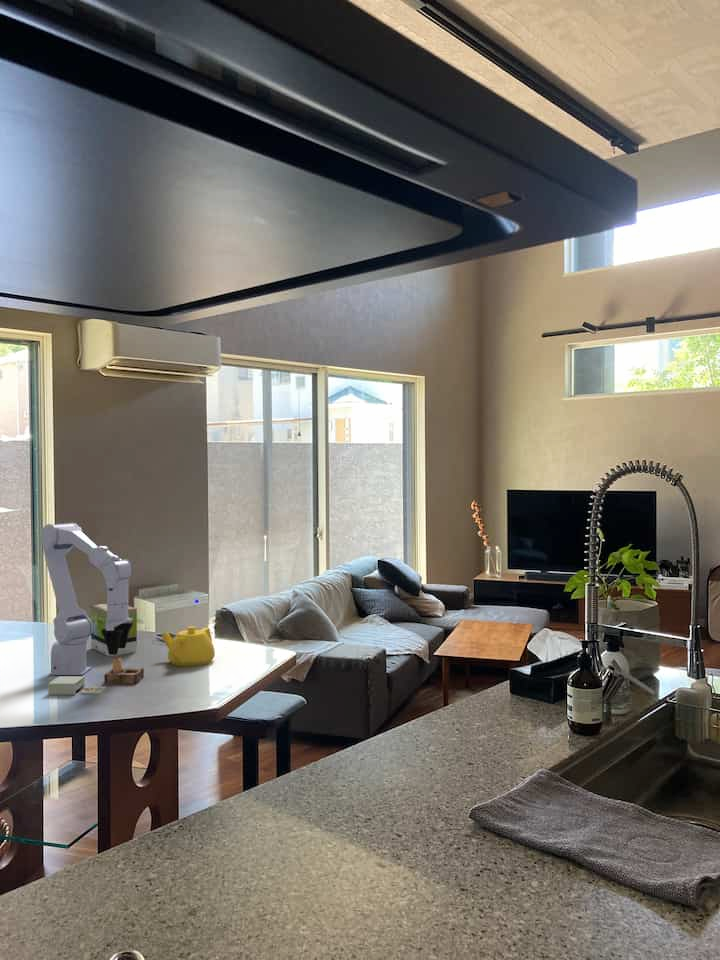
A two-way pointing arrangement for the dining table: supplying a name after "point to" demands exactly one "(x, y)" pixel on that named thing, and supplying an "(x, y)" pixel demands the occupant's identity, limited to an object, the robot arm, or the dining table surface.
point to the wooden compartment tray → (124, 676)
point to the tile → (93, 690)
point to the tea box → (100, 623)
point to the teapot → (190, 647)
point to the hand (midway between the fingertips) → (117, 651)
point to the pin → (117, 665)
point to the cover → (66, 685)
